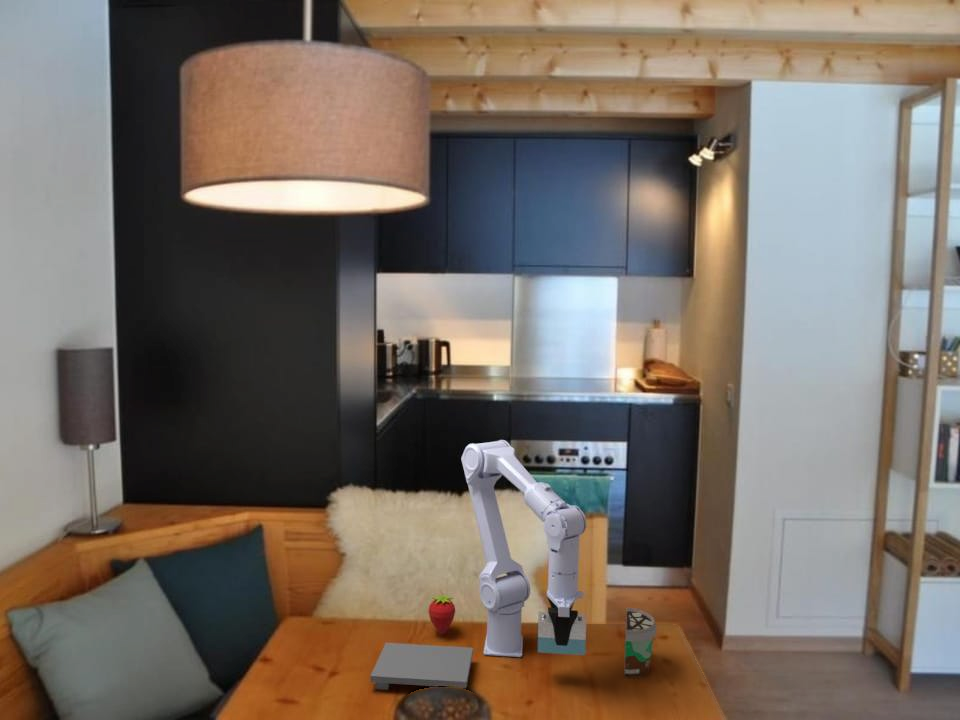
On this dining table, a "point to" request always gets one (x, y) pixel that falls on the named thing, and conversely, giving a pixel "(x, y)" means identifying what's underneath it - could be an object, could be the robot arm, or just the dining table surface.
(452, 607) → the strawberry
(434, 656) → the stand
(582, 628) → the housing
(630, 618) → the food container
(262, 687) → the dining table surface
